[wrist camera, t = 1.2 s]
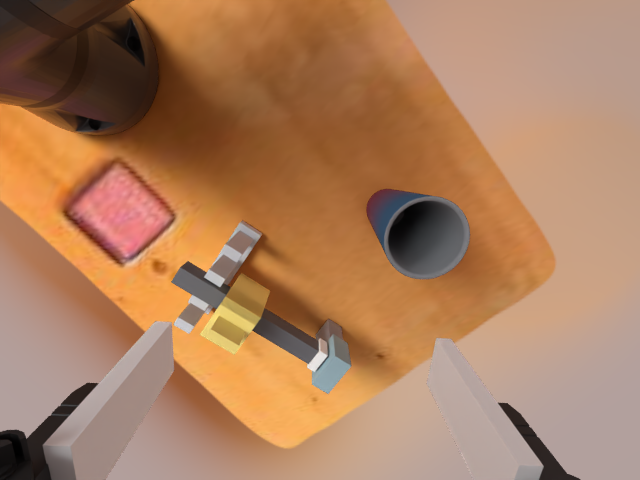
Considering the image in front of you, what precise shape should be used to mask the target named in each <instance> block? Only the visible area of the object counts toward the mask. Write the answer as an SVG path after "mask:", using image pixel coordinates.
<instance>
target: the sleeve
mask: <svg viewBox="0 0 640 480" xmlns="http://www.w3.org/2000/svg"><path fill="white" fill-rule="evenodd" d="M269 293H270V290H268V289H267V288H265V287H264V286H262V285H260V284H259V283H257V282H256V281H254V280H252V279H251V278H249V277H248V276H246V275H244V274H243V273H241V274H240V275H239V277H238V278H237V280H236V281H235V283H234V284H233V286H232V287H231V289H230V290H229V292H228V293H227V295H226V296H225V298H224V299H223V301H222V302H221V304H220V305H219V307H218V308H217V309H216V311H215V312H214V314H213V315H212V317H211V319H210V320H209V322H208V323H207V325H206V326H205V328H204V329H203V331H202V332H201V334H200V335H201V336H203V337H205V338H206V339H208V340H210V341H212V342H213V343H215V344H217V345H218V346H220V347H222V348H224V349H225V350H227V351H229V352H231V353H232V354H234V355H235V353H236V352H237V351H238V349H239V348H240V346H241V345H242V344H243V342H244V341H245V339H246V338H247V337H248V335H249V334H250V333H251V331H252V330H253V328H254V327H255V326H256V324H257V323H258V321H259V320H260V319H261V316H262V313H263V311H264V308H265V305H266V302H267V299H268V296H269Z"/></svg>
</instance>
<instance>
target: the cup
mask: <svg viewBox="0 0 640 480" xmlns="http://www.w3.org/2000/svg"><path fill="white" fill-rule="evenodd" d="M367 216H368V218H369V221H370V223H371V225H372V227H373V229H374V231H375V233H376V235H377V237H378V239H379V241H380V243H381V245H382V247H383V250H384V252H385V254H386V256H387V258H388V260H389V261H390V263H391V264H392V266H393V267H394V268H395V269H396V270H398V271H399V272H400V273H402V274H404V275H405V276H408V277H411V278H415V279H431V278H436V277H439V276H441V275H444V274H446V273H447V272H449V271H450V270H452V269H453V268H454V267H455V266H456V265H457V264H458V263H459V262H460V261H461V259H462V258H463V256H464V254H465V253H466V251H467V248H468V244H469V239H470V229H469V224H468V221H467V218H466V216H465V215H464V213H463V211H462V210H461V209H460V208H459V207H458V206H457V205H456V204H454V203H453V202H451V201H449V200H447V199H444V198H441V197H436V196H430V195H423V194H417V193H411V192H405V191H399V190H392V189H383V190H380V191H378V192H376V193H375V194H374V195H373V196H372V197H371V198H370V199H369V201H368V204H367Z"/></svg>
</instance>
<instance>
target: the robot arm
mask: <svg viewBox="0 0 640 480" xmlns="http://www.w3.org/2000/svg"><path fill="white" fill-rule="evenodd" d="M132 1H134V0H0V103H2V104H8V105H15V106H21V107H22V108H24V109H26V110H28V111H30V112H31V113H33V114H35V115H37V116H39V117H41V118H42V119H44V120H46V121H48V122H50V123H52V124H53V125H55V126H58V127H60V128H63V129H65V130H69V131H72V132H76V133H82V134H91V135H110V134H115V133H119V132H122V131H124V130H126V129H128V128H130V127H132V126H133V125H135V124H136V123H137V122H138V121H140V120H141V119H142V117H143V116H144V115H145V114H146V113H147V111H148V110H149V108H150V106H151V104H152V102H153V100H154V97H155V94H156V90H157V86H158V60H157V55H156V51H155V47H154V44H153V41H152V39H151V37H150V35H149V33H148V31H147V29H146V27H145V25H144V24H143V22H142V21H141V19H140V18H139V17H138V15H137V14H136V13H135V12H134V11H133V10H132V9H131V8H130V7H129V6H128V5H127V4H129V3H130V2H132ZM173 371H174V359H173V341H172V322H159V321H155V322H154V323H153V324H152V326H151V327H150V328H149V329H148V330H147V331H146V332H145V333H144V335H142V337H141V338H140V339H139V340H138V341H137V342H136V343H135V344H134V345H133V347H132V348H131V349H130V350H129V351H128V352H127V353H126V354H125V355H124V356H123V357H122V359H121V360H120V361H119V362H118V363H117V364H116V365H115V366H114V367H113V369H112V370H111V371H110V372H109V373H108V374H107V375H106V376H105V377H104V378H103V379H102V381H101V382H100V383H86V384H85V385H83V386H82V387H80V388H79V389H77V390H75V391H74V392H72V393H71V394H70V395H69V396H68V397H67V398H66V399H65V400H64V401H63V402H62V403H61V406H59V407H58V408H57V409H55V411H54V412H53V413H52V415H51V416H49V417H48V418H47V419H46V420H45V421H44V422H43V423H42V424H41V425H40V426H39V427H38V428H37V429H36V430H35V431H34V432H33V433H32V434H31V435H30V436H29V437H28V438H27V439H26V436H25V434H24V432H22V431H19V430H6V431H2V432H0V480H106V478H107V477H108V475H109V473H110V472H111V470H112V469H113V467H114V465H115V464H116V462H117V461H118V459H119V457H120V456H121V454H122V453H123V451H124V449H125V448H126V446H127V445H128V443H129V441H130V440H131V438H132V437H133V435H134V433H135V432H136V430H137V429H138V427H139V425H140V424H141V422H142V421H143V419H144V417H145V416H146V414H147V413H148V411H149V409H150V408H151V406H152V404H153V403H154V401H155V400H156V398H157V397H158V395H159V393H160V392H161V390H162V389H163V387H164V385H165V384H166V382H167V381H168V379H169V377H170V376H171V374H172V373H173ZM427 385H428V387H429V389H430V391H431V393H432V395H433V397H434V399H435V402H436V404H437V406H438V408H439V410H440V412H441V414H442V416H443V418H444V420H445V422H446V424H447V426H448V428H449V430H450V432H451V435H452V437H453V439H454V441H455V443H456V445H457V447H458V449H459V451H460V453H461V455H462V457H463V459H464V461H465V463H466V465H467V467H468V470H469V472H470V474H471V476H472V478H473V480H580V479H579V478H576V477H574V476H572V475H569V474H567V473H566V472H565V470H564V469H563V468H562V467H561V465H560V464H559V463H558V462H557V460H556V459H555V458H554V456H553V455H552V454H551V453H550V451H549V450H548V449H547V447H546V446H545V445H544V444H543V442H542V441H541V440H540V439H539V438H538V437H537V435H536V434H535V432H534V431H533V430H532V428H530V427H529V424H528V423H527V422H526V421H525V419H524V418H523V417H522V415H521V414H520V413H519V412H517V411H516V410H515V409H514V408H512V407H511V406H510V405H509V404H508V403H497V401H496V400H495V399H494V397H493V396H492V394H491V393H490V392H489V390H488V389H487V388H486V386H485V385H484V383H483V382H482V381H481V379H480V378H479V377H478V375H477V374H476V373H475V371H474V370H473V368H472V367H471V366H470V364H469V363H468V361H467V360H466V359H465V357H464V356H463V355H462V353H461V352H460V350H459V349H458V348H457V346H456V345H455V344H454V342H453V341H452V339H445V338H436V342H435V346H434V351H433V356H432V361H431V365H430V370H429V375H428V380H427Z"/></svg>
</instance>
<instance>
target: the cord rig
mask: <svg viewBox="0 0 640 480" xmlns="http://www.w3.org/2000/svg"><path fill="white" fill-rule="evenodd" d="M261 235H262V233H261V232H259V231H258V230H256V229H255V228H253V227H252V226H250V225H249V224H247V223H246V222H244V221H243V220H242V221H241V222H240V223H239V225H238V226H237V228H236V229H235V231H234V232H233V234H232V236H231V237H230V239H229V240H228V242H227V243H226V244H225V245H224V247H223V249H222V250H221V253H220V254H219V256H218V257H217V259H216V260H215V262H214V263H213V265H212V266H211V268H210V269H209V270H208V272H205V271H203V270H202V269H200V268H198V267H197V266H195V265H193V264H192V263H190V262H189V261H188V262H186V263H185V264H184V265H183V266H181V267H180V269H179V270H178V272H177V274H176V275H175V277H174V278H173V280H172V283H173V284H175V285H177V286H179V287H180V288H182V289H184V290H185V291H187V292H189V293H190V294H192V296H191V298H190V300H189V301H188V303H190V304H189V305H188V306H187V307H186V309H185V310H184V311H183V312H182V313H181V314H180V316H179V317H178V318H177V320H176V321H175V323H174V324H173V325H175V326H177V327H178V328H180V329H182V330H184V331H185V332H187V333H190V332H191V331H192V329H193V328H194V326H195V325H196V324H197V322H198V321H199V320H200V318H201V317H202V315H203V314H204V313H207V314H209V313H210V311H211V310H212V308H213V307H214V308H215V309H217V308H218V307H219V305H220V304H221V302H222V301H223V299H224V298H225V296H226V295H227V293H228V292H229V290H230V289H231V287H229V286H228V284H229V283H230V281H231V280H232V278H233V277H234V275H235V274H236V272H237V271H238V269H239V268H240V266H241V265H242V263H243V262H244V261H245V259H246V258H247V256H248V255H249V253H250V252H251V250H252V249H253V247H254V246H255V244H256V243H257V241H258V240H259V238H260V237H261ZM252 331H254V332H256V333H257V334H259V335H261V336H262V337H264V338H266V339H267V340H269V341H271V342H272V343H274V344H276V345H277V346H279V347H281V348H283V349H284V350H286V351H288V352H289V353H291V354H293V355H294V356H296V357H298V358H299V359H301V360H303V361H304V362H306V363H307V368H308V369H310V370H312V385H314V386H316V387H317V388H319V389H321V390H322V391H324V392H326V393H327V394H328V393H329V392H330V391H331V390H332V389H333V387H334V386H335V385H336V384H337V383H338V381H339V380H340V379H341V378H342V377H343V375H344V374H345V373H346V372H347V371H348V369H349V368H350V367H351V360H350V354H349V348H348V343H347V342H345V341H344V340H343V335H342V328H341V326H339V325H338V324H336V323H334V322H333V321H331V320H330V319H328V320H327V321H326V322H325V324H324V325H323V326H322V327H321V329H320V330H319V331H318V333H317V334H316V339H314V338H313V337H311V336H309V335H308V334H306V333H304V332H303V331H301V330H299V329H298V328H296V327H295V326H293V325H291V324H290V323H288V322H286V321H285V320H283V319H282V318H280V317H278V316H277V315H275V314H273V313H272V312H270V311H268V310H267V309H265V308H264V311H263V313H262V316H261V319H260V320H259V321H258V323H257V324H256V326H255V327H254V328H253V330H252Z"/></svg>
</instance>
